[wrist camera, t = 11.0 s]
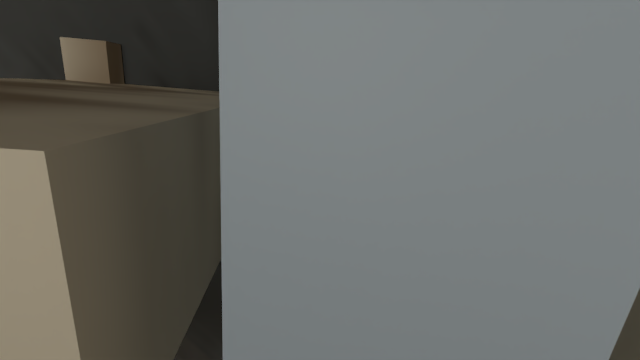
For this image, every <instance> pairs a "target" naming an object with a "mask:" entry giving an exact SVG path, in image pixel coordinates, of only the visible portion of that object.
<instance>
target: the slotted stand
mask: <svg viewBox="0 0 640 360" xmlns="http://www.w3.org/2000/svg"><path fill="white" fill-rule="evenodd" d="M60 43H61V50H62V57H63V64H64V71H65V78H66V80H49V79H16V78H0V360H174V357H175V355H176V353H177V351H178V349H179V347H180V345H181V343H182V341H183V338H184V336H185V334H186V332H187V330H188V328H189V326H190V324H191V321H192V319H193V317H194V315H195V313H196V311H197V309H198V307H199V305H200V302H201V300H202V298H203V296H204V294H205V292H206V290H207V288H208V286H209V283H210V281H211V279H212V277H213V275H214V273H215V271H216V269H217V267H218V264H219V262H220V260H221V181H220V100H219V92H218V91H206V90H194V89H181V88H169V87H157V86H145V85H132V84H124V73H123V63H122V52H121V45H120V44H116V43H111V42H107V41H99V40H88V39H77V38H66V37H60ZM609 360H640V289H639V291H638V293H637V296H636V298H635V300H634V302H633V305H632V307H631V309H630V312H629V314H628V316H627V319H626V321H625V323H624V326H623V328H622V330H621V332H620V335H619V337H618V339H617V342H616V344H615V346H614V349H613V351H612V353H611V355H610V358H609Z"/></svg>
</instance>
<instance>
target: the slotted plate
mask: <svg viewBox="0 0 640 360" xmlns="http://www.w3.org/2000/svg"><path fill="white" fill-rule="evenodd" d="M218 20H219V100H220V181H221V261H222V341H223V360H609V358H610V355H611V353H612V351H613V349H614V346H615V344H616V342H617V339H618V337H619V335H620V332H621V330H622V328H623V326H624V323H625V321H626V319H627V316H628V314H629V312H630V309H631V307H632V305H633V302H634V300H635V298H636V296H637V293H638V291H639V289H640V0H218Z"/></svg>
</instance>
